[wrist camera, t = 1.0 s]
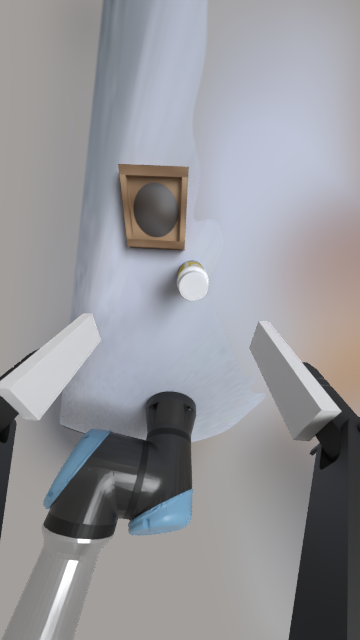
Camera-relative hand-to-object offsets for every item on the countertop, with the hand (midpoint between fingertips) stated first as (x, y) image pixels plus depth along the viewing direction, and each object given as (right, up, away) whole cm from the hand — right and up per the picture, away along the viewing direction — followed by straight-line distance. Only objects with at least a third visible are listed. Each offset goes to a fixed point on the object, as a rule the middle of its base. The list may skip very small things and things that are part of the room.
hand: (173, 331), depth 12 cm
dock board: (-3, +17, +11) cm, 21 cm away
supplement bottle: (+3, +9, +16) cm, 18 cm away
